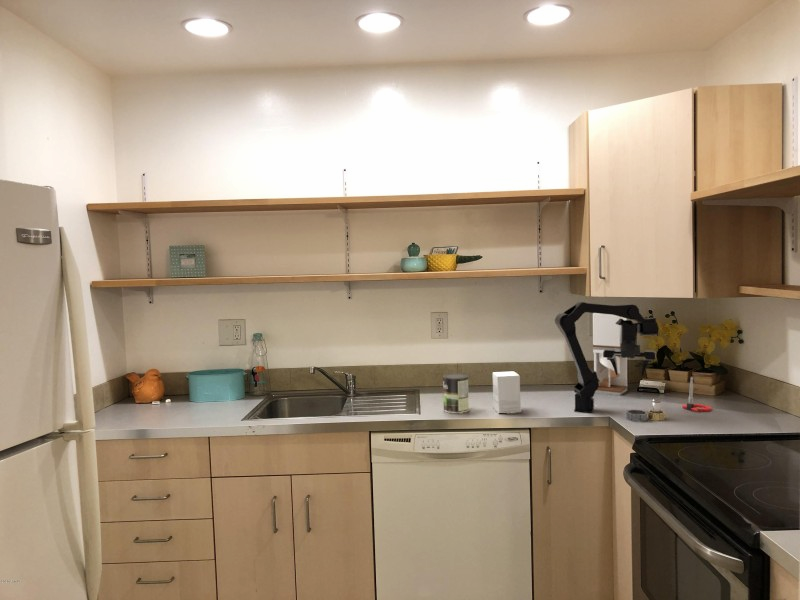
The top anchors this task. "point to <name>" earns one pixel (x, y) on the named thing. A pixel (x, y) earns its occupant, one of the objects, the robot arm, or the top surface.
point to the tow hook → (690, 401)
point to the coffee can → (455, 393)
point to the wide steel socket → (636, 415)
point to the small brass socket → (656, 415)
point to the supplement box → (506, 392)
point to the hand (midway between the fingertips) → (629, 375)
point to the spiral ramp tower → (606, 338)
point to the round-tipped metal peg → (656, 406)
